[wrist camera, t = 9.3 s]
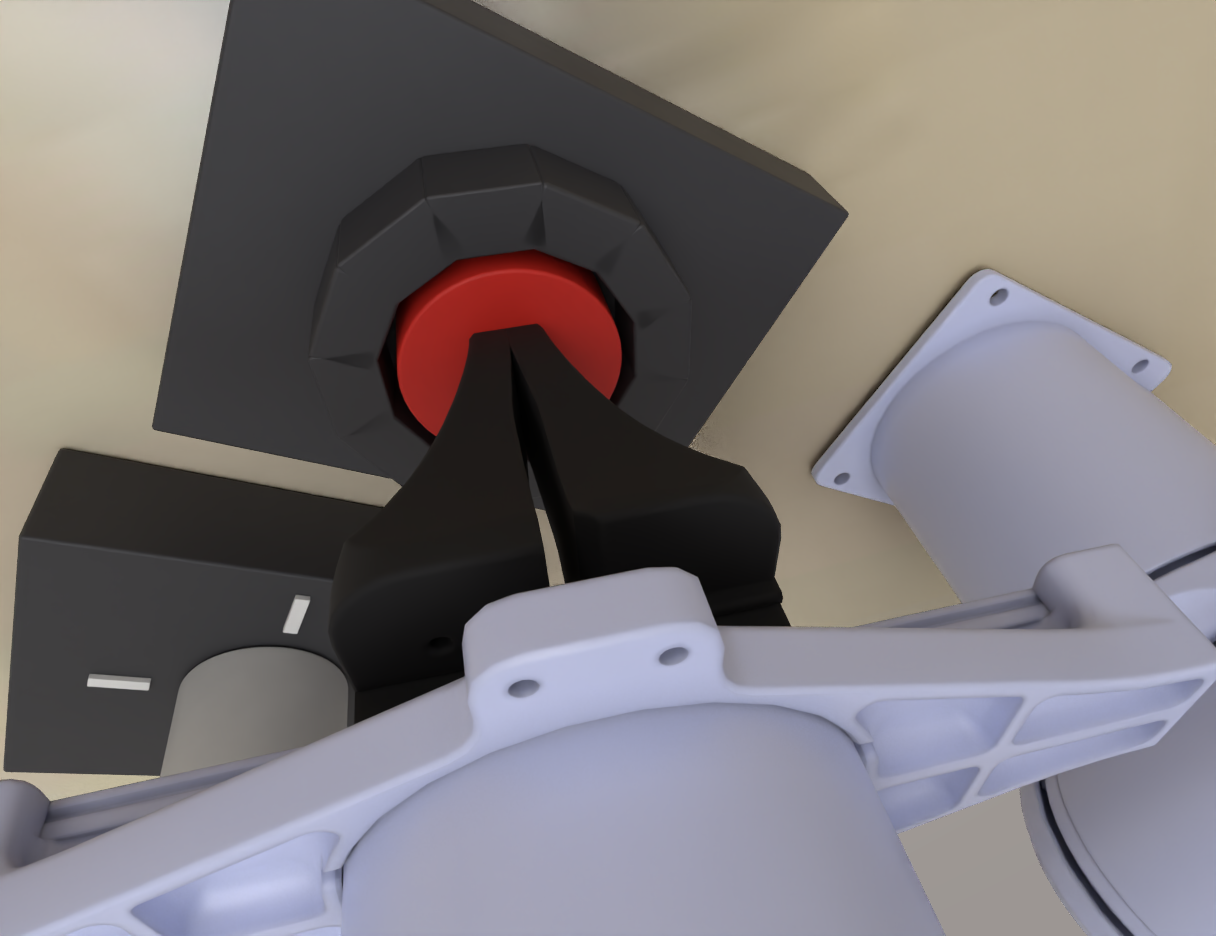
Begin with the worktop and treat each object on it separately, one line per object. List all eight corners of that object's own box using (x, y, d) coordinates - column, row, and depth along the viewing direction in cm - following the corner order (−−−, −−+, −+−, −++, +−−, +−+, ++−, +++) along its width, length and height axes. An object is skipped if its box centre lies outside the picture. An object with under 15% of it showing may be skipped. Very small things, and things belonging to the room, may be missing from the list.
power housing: (810, 173, 18) (891, 253, 15) (614, 476, 23) (648, 577, 20) (262, -108, 13) (227, -68, 10) (171, 371, 18) (131, 488, 15)
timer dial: (355, 645, 21) (352, 776, 19) (341, 730, 24) (336, 856, 21) (175, 644, 20) (142, 787, 17) (181, 736, 22) (154, 872, 20)
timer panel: (516, 531, 24) (530, 612, 22) (414, 708, 29) (417, 787, 27) (59, 446, 19) (15, 541, 16) (36, 681, 24) (0, 778, 22)
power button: (639, 270, 16) (662, 314, 15) (553, 426, 18) (566, 475, 17) (437, 191, 14) (442, 234, 13) (368, 378, 16) (368, 429, 15)
